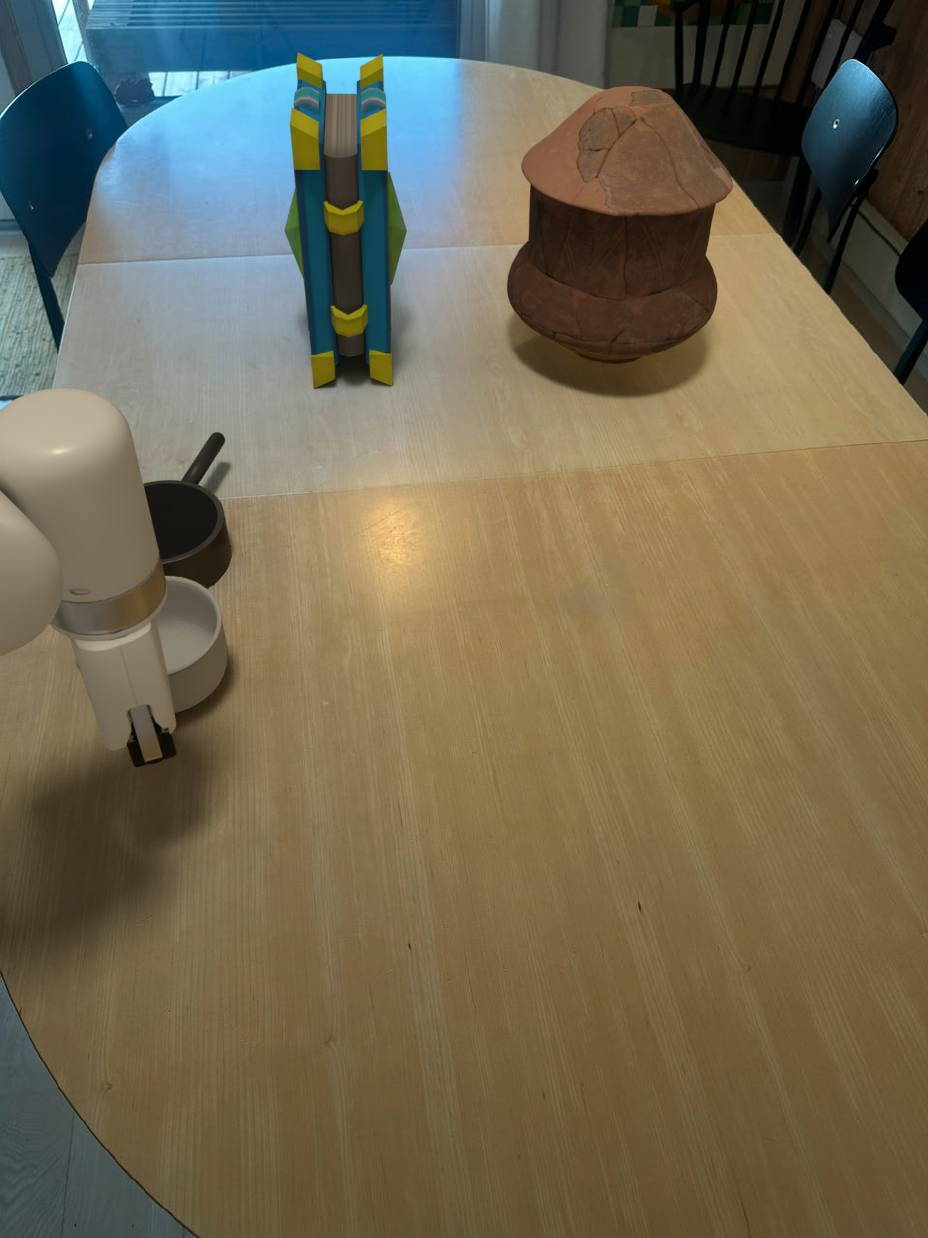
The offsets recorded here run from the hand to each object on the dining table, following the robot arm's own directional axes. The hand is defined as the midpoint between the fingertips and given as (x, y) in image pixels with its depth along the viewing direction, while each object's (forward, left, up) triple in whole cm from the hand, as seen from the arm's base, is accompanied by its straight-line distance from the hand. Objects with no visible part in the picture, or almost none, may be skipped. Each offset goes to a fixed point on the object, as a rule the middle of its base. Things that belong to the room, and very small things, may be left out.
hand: (154, 754), depth 73 cm
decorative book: (-5, +67, -6) cm, 67 cm away
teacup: (-6, +11, -6) cm, 13 cm away
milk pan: (-11, +29, -5) cm, 32 cm away
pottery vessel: (+26, +75, -6) cm, 80 cm away
